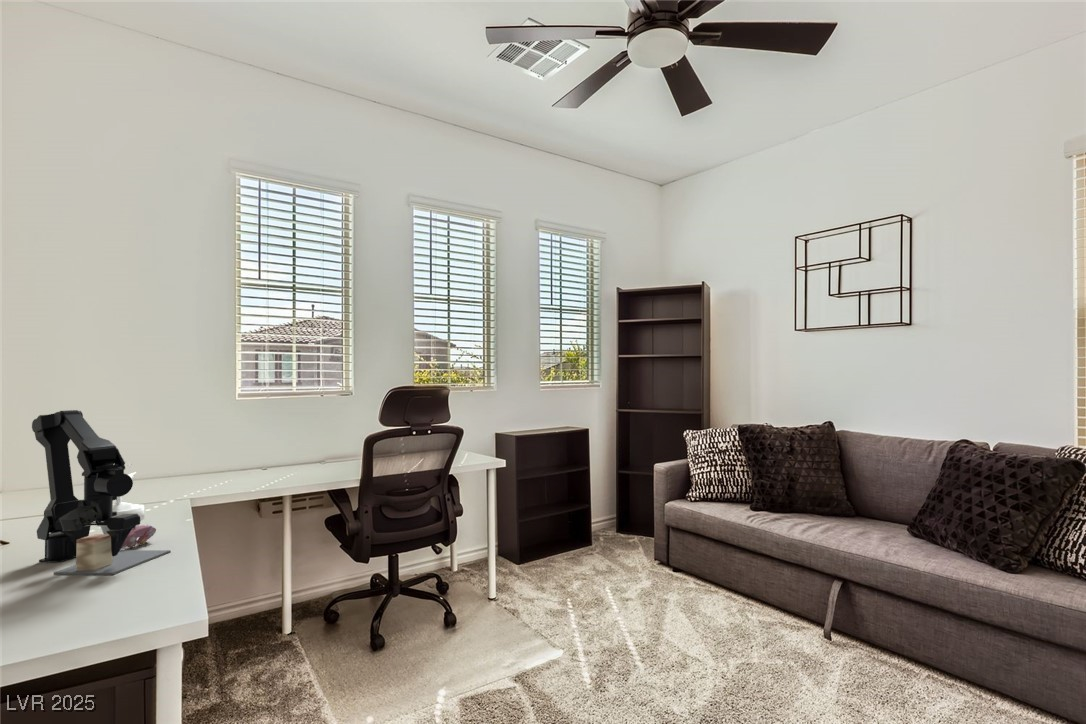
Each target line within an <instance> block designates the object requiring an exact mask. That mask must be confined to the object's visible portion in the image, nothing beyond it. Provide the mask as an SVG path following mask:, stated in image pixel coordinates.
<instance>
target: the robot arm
mask: <svg viewBox="0 0 1086 724" xmlns="http://www.w3.org/2000/svg"><path fill="white" fill-rule="evenodd" d="M31 429H32V432H33V433H34V436H35V440H36V441H37V442H38V443H39V444H40V445H41V446H42V447H43V448H44V452H45V453H44V454H45V459H46V460H45V461H46V470H47V480H48V487H49V488H48V489H49V496H50V501H49V502H48V504H47V506H46V507H45V509H44V511H43V518H42V519H41V522H40V523H39V526H38V527H37V529H36V536H37V540H38V539H39V540H43V541H44V558H41V559H38V562H39V563H48V562H49V563H61V562H65V561H67V560H70V559H74V558H76V545H77V539H81V538H84V537H87V536H90V530H91V526H97V525H107V527H108V528H109V529H110V530H109V531H106V532H107V533H108V534H109V535H110V536H111V552H112V556H116V555H117V554H118V552H119V550H121V549H122V548H121V547H122V545H123V543H124V541H125V539H126V537H127V536H128V534H129V533H130V531H131V530H132V528H135V527H136V525H139V526H140V525H141V522H140V516H139V515H138V514H123V515H119V516H117V512H113V504H114V503H113V502H114V501H116V500H117V497H120V496H121V497H124V496H125V495H127V494H128V493H130V491H131V490H132V489H133V484H134V480H133V478H132V479H131V477H130V476H129V475H128V474H127V473H125V470H126V466H125V464H126V461H125V460H124V458H123V456H122V454H121V453H120V450H119V448H118V447H117V446H116V445H115V444H114V443H112V442H111V440H109V439H106V438H102V437H101V436H99V435H98V434H97V433H96V431H94V429H93V427H91V425H90V424H89V423H88V421H86V419H85V418H84V415H83V412H82V411H81V410H79V409H75V410H74V409H73V410H72V409H70V410H67V409H66V410H59V411H56V412H54V413H49V414H40V415H38V416H37V418H35V419H33V420H32V422H31ZM70 441H71V442H72V443H73V444H74V446H76V448H77V450H78V453H77V456H76V459H77V462H78V464H79V465H80V467H81V469H82V470H83V471H82V472H81V476H82V477H83V481H84V482H83V498H82V499H78V498H77V497H76V496H75V494H74V485H73V477H72V469H71V461H70V450H69V442H70ZM113 516H115V517H113ZM101 521H104V522H101Z"/></svg>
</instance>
